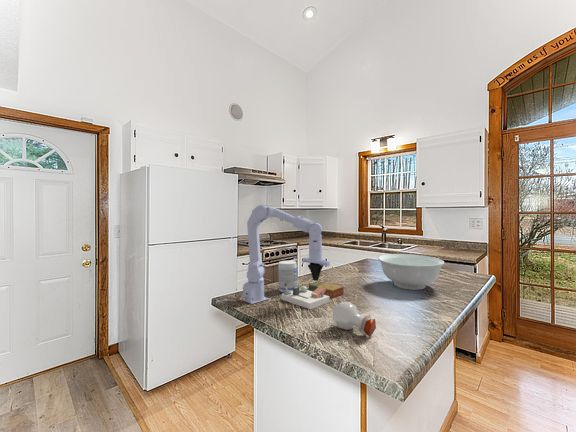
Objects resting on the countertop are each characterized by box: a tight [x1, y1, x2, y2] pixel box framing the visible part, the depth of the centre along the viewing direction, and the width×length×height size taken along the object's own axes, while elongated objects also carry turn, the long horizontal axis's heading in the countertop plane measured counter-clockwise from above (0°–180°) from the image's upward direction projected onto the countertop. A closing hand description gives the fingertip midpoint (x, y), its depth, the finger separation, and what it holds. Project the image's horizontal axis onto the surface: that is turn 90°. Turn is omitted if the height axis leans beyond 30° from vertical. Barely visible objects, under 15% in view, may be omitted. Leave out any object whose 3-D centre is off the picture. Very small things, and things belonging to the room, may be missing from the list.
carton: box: [308, 280, 344, 299], centre depth 142 cm, size 8×16×4 cm, turn 43°
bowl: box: [377, 253, 445, 291], centre depth 153 cm, size 32×32×15 cm
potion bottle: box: [332, 301, 377, 338], centre depth 99 cm, size 9×10×15 cm
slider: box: [293, 286, 300, 295], centre depth 132 cm, size 2×2×3 cm
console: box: [281, 289, 331, 310], centre depth 131 cm, size 13×18×4 cm
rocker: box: [311, 287, 326, 298], centre depth 130 cm, size 6×4×2 cm, turn 133°
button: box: [299, 285, 307, 292], centre depth 136 cm, size 3×3×2 cm
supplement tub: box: [277, 260, 298, 293], centre depth 147 cm, size 10×10×15 cm
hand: (315, 280), depth 128 cm, fingers closed
